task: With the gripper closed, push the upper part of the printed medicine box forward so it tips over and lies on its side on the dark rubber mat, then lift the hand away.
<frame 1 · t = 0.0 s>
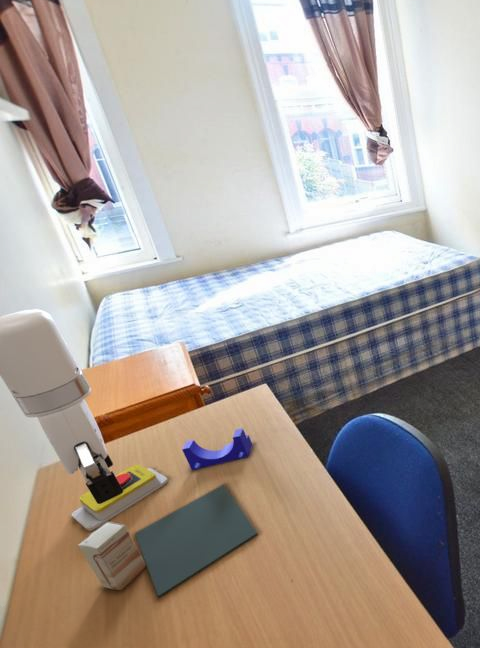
hand: (106, 483, 75), 20 cm above the table, tool pointing down, fingers open, 9 cm apart
mat: (195, 534, 90), on the table
emergency button: (122, 498, 101), on the table
printed medicine box: (126, 576, 83), on the table
cable clip: (223, 457, 110), on the table
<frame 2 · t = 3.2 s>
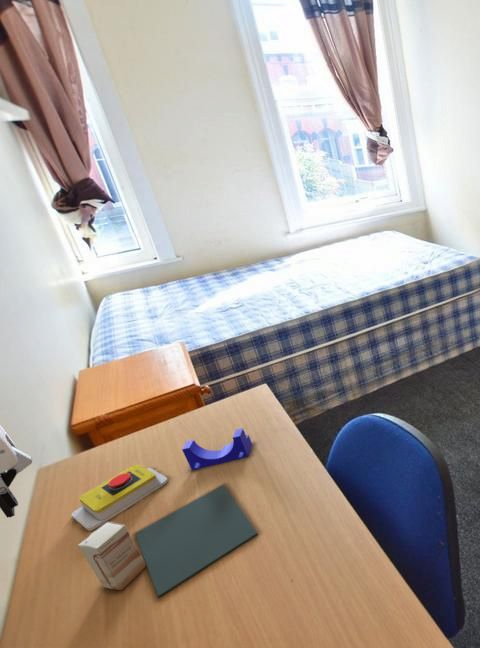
hand: (0, 516, 69), 21 cm above the table, tool pointing down, fingers closed
nothing on the table moved.
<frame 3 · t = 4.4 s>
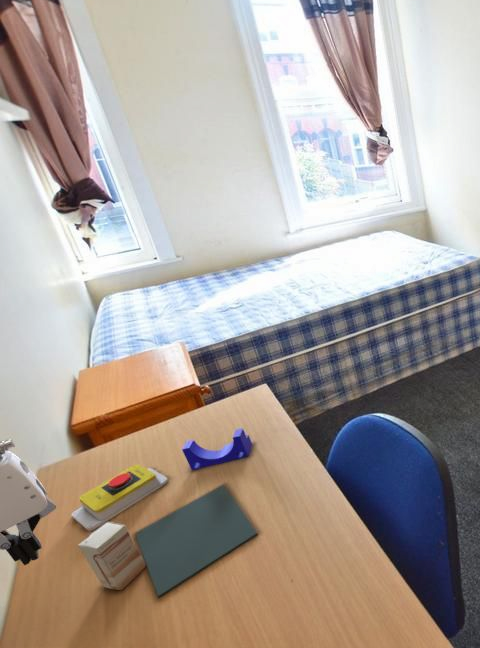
hand: (31, 556, 72), 13 cm above the table, tool pointing down, fingers closed
nothing on the table moved.
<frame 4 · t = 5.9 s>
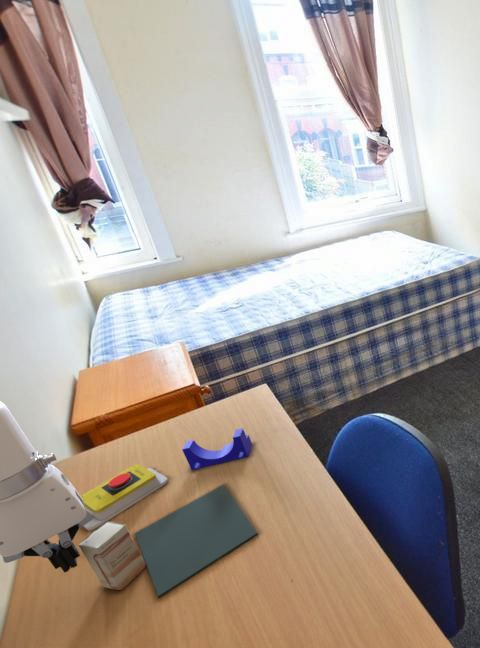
hand: (70, 564, 76), 8 cm above the table, tool pointing down, fingers closed
printed medicine box: (126, 576, 83), on the table, touching gripper
everything else where it was.
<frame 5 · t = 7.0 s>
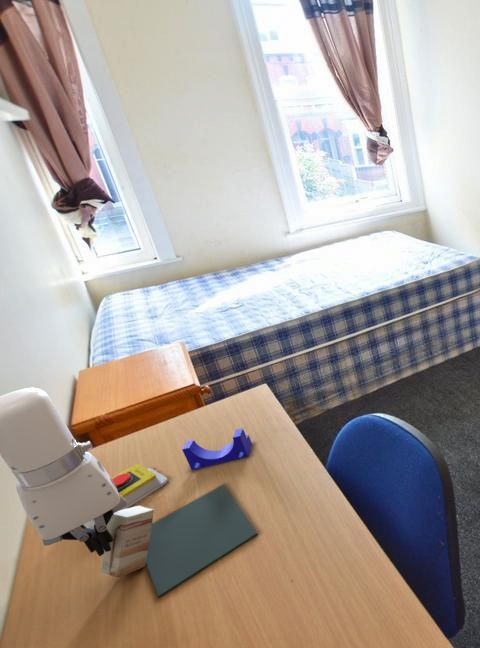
hand: (104, 548, 79), 7 cm above the table, tool pointing down, fingers closed
printed medicine box: (124, 570, 82), point 1 cm above the table
everything else where it was.
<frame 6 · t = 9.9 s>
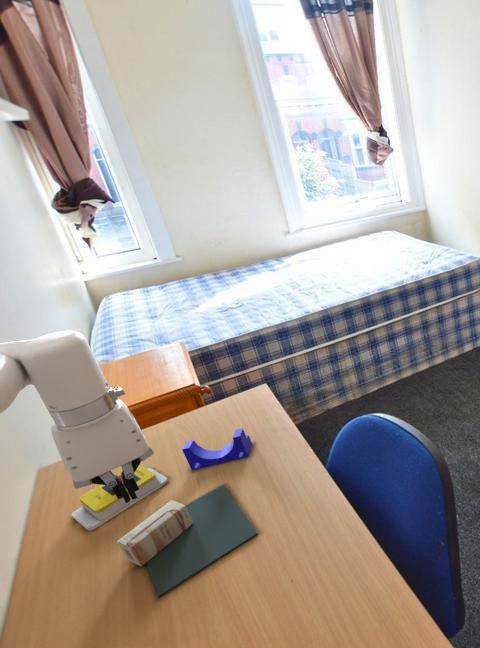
hand: (130, 496, 81), 14 cm above the table, tool pointing down, fingers closed
printed medicine box: (127, 556, 83), point 3 cm above the table, touching mat
everything else where it was.
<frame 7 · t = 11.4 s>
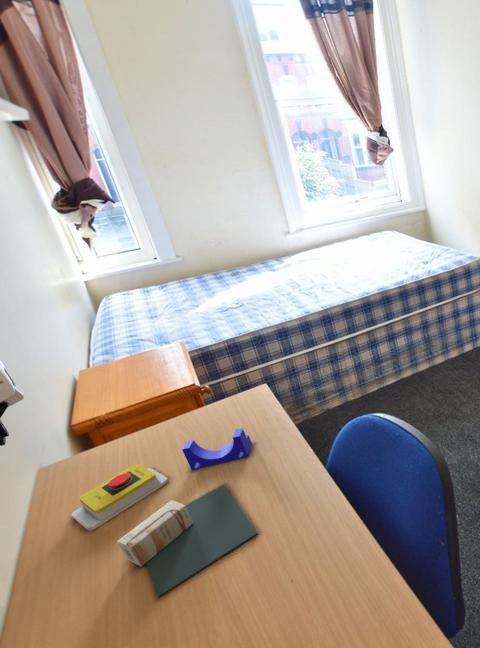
nothing on the table moved.
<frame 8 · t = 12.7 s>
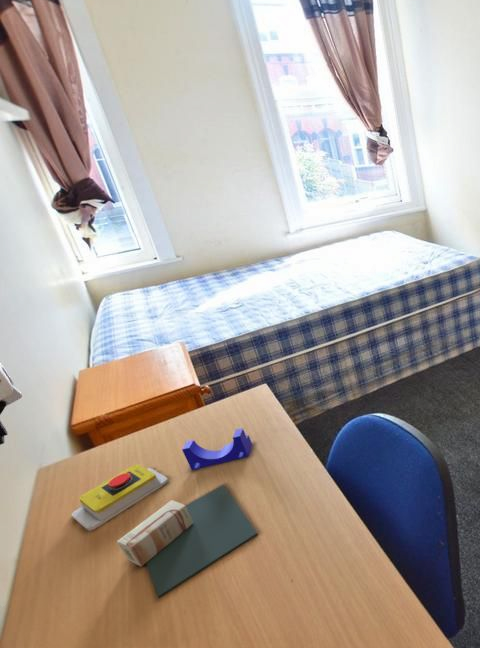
nothing on the table moved.
at the end: printed medicine box tilted 89°; printed medicine box touching mat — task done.
